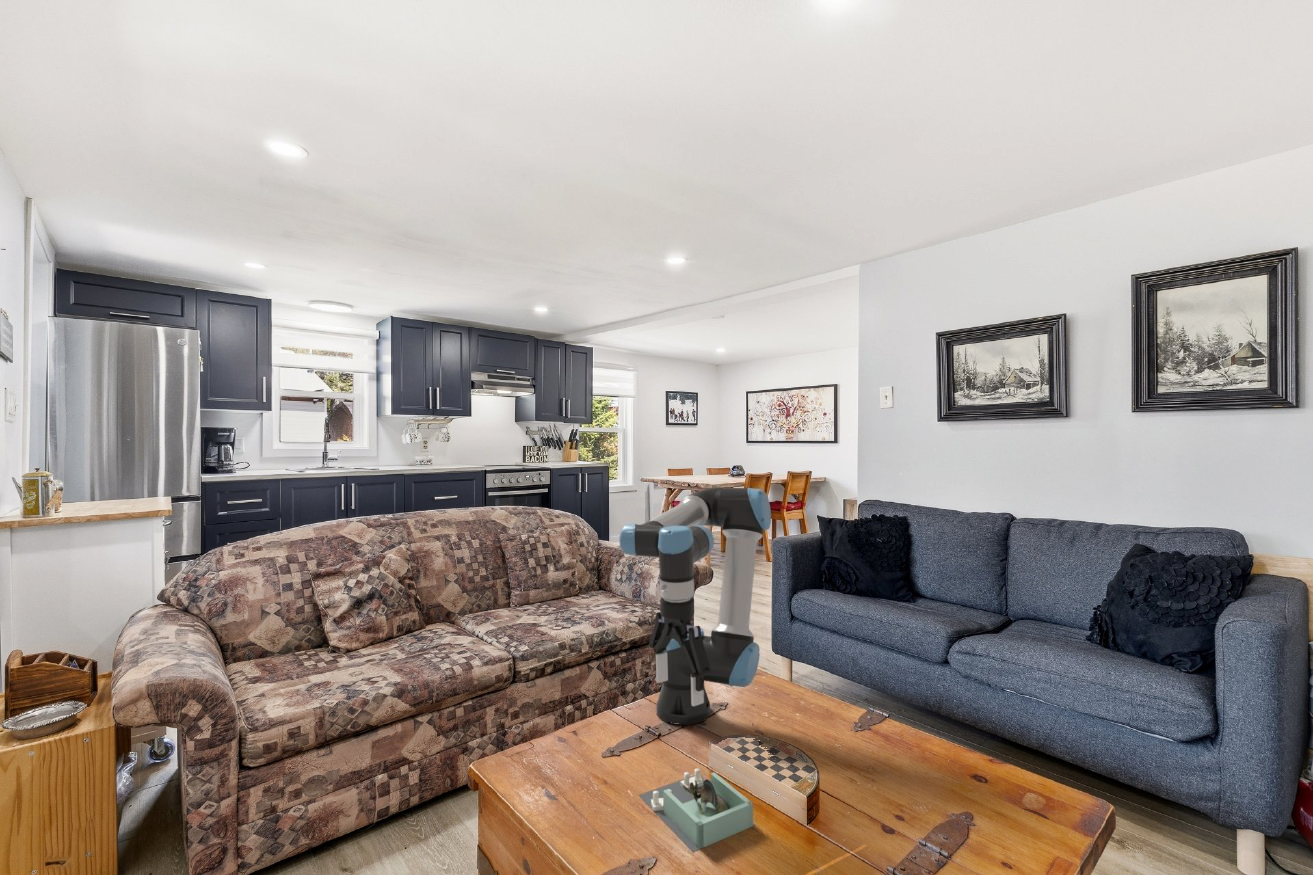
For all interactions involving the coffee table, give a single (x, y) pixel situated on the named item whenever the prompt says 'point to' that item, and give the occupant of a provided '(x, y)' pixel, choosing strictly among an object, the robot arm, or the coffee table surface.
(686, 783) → the clips
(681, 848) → the coffee table surface
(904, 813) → the coffee table surface
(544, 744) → the coffee table surface
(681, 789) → the mat
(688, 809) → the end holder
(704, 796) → the eagle figurine
